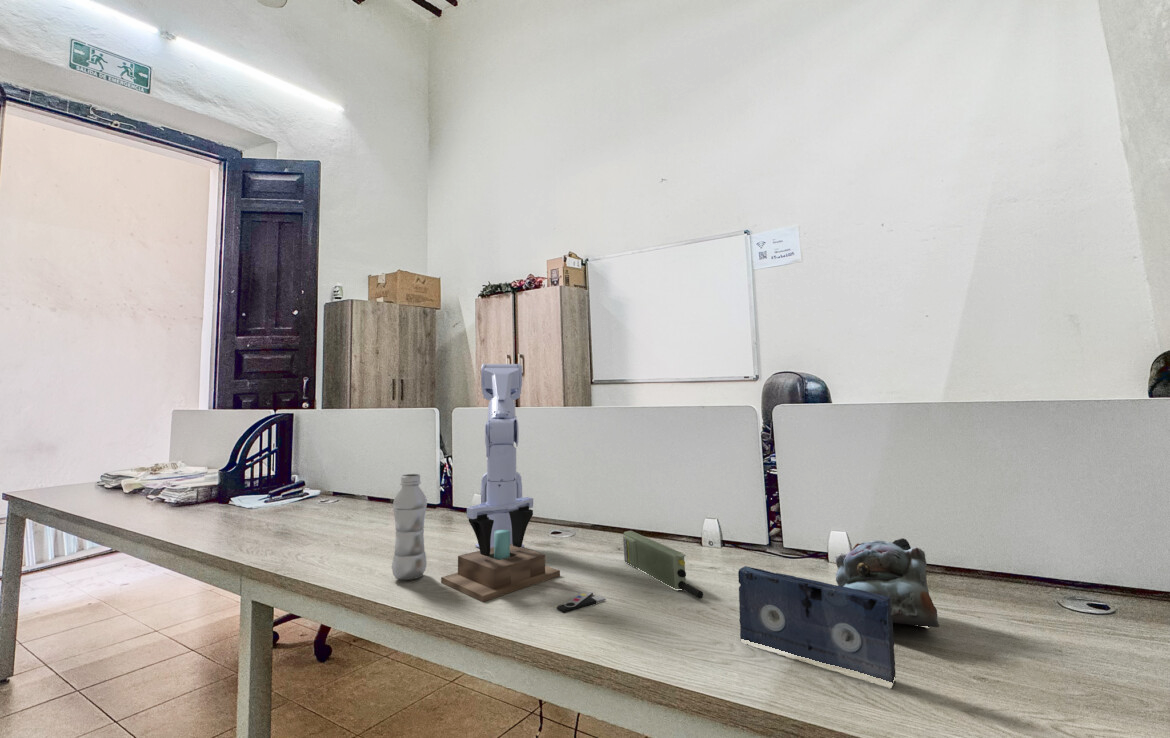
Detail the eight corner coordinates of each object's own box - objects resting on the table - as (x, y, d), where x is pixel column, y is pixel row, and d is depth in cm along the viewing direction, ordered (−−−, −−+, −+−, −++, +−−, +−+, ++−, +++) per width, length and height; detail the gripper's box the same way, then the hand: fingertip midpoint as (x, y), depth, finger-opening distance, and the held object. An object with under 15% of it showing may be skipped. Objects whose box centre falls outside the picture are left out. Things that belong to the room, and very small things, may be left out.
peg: (491, 573, 95) (491, 531, 96) (504, 570, 97) (504, 528, 98) (499, 577, 93) (499, 534, 94) (512, 573, 95) (512, 531, 96)
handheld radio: (635, 561, 106) (709, 600, 84) (622, 563, 105) (693, 605, 82) (634, 529, 107) (706, 560, 84) (620, 532, 106) (691, 564, 83)
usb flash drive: (563, 616, 79) (563, 609, 79) (547, 605, 83) (547, 599, 83) (606, 603, 84) (606, 597, 84) (589, 594, 88) (589, 588, 88)
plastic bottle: (431, 572, 99) (433, 472, 101) (417, 584, 93) (419, 477, 94) (401, 572, 100) (403, 472, 102) (384, 583, 93) (387, 477, 95)
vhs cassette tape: (897, 682, 58) (892, 595, 59) (892, 693, 56) (887, 602, 57) (748, 636, 70) (745, 564, 71) (739, 643, 68) (736, 569, 69)
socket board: (441, 582, 94) (441, 558, 94) (516, 561, 106) (516, 539, 107) (482, 601, 84) (482, 574, 84) (560, 575, 97) (559, 552, 97)
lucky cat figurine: (812, 618, 76) (808, 528, 83) (861, 635, 80) (853, 548, 87) (912, 622, 64) (898, 516, 71) (964, 642, 68) (945, 540, 75)
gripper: (481, 486, 89) (481, 563, 88) (542, 477, 99) (543, 546, 98) (461, 482, 94) (460, 555, 93) (521, 474, 104) (521, 540, 103)
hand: (501, 550), depth 96 cm, fingers open, 7 cm apart
